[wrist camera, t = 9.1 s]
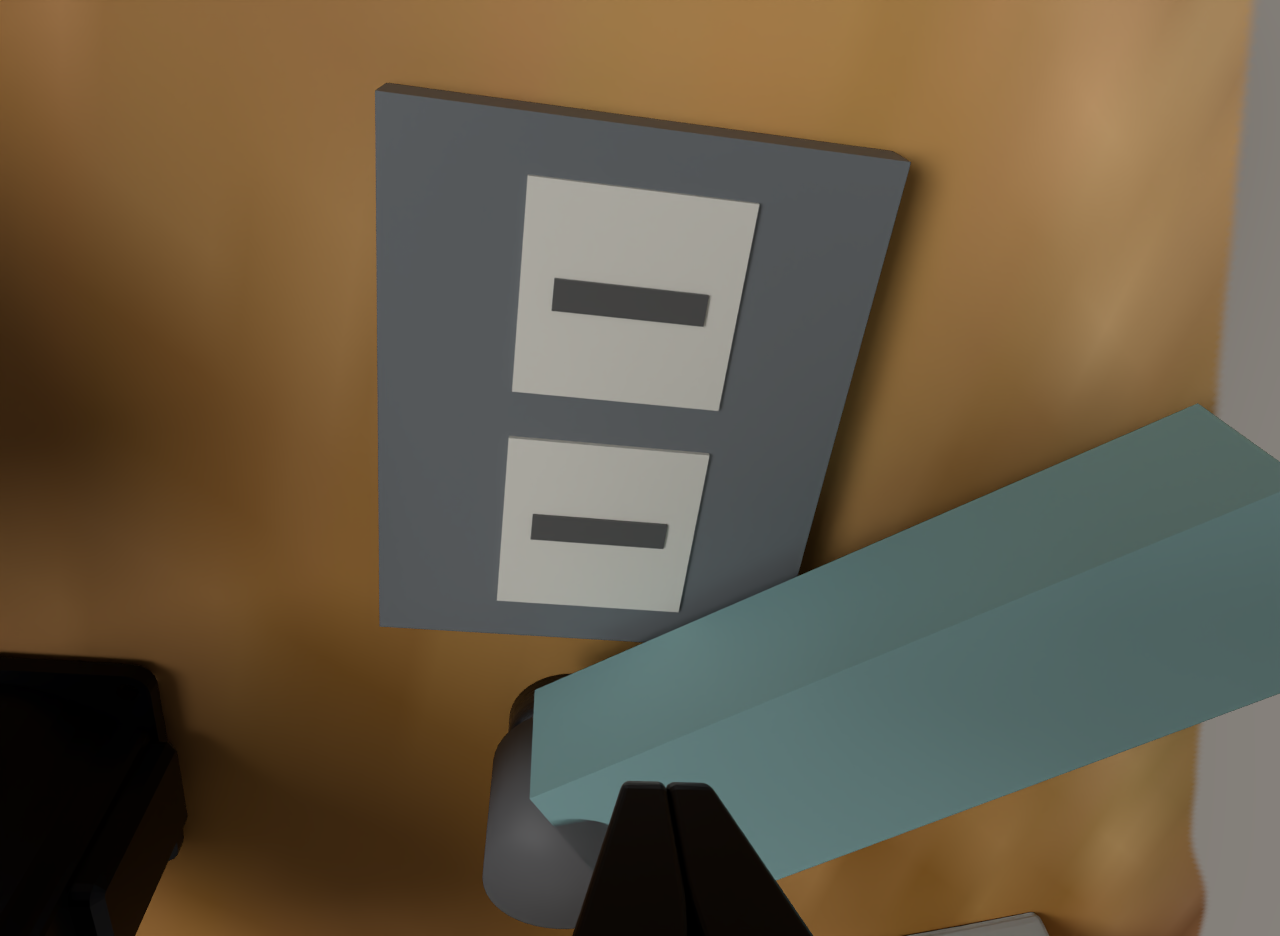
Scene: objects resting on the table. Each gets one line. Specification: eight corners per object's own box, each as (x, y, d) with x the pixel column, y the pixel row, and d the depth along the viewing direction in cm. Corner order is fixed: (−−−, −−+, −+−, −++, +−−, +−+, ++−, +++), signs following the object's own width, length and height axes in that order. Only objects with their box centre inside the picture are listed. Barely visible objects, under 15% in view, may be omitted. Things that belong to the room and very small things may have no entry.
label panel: (387, 598, 20) (378, 631, 19) (386, 82, 15) (373, 91, 14) (768, 622, 22) (778, 654, 21) (892, 150, 16) (914, 163, 15)
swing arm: (447, 727, 21) (430, 839, 18) (1198, 403, 18) (1306, 481, 15) (554, 849, 23) (552, 963, 20) (1231, 581, 20) (1331, 674, 17)
